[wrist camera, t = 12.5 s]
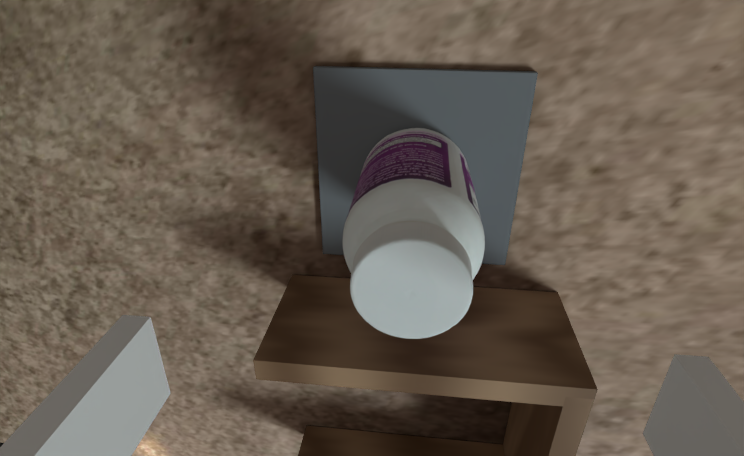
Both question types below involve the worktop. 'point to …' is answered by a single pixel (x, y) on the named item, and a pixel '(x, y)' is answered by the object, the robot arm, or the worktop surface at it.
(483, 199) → the mat
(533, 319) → the nook
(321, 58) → the worktop surface
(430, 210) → the pill bottle
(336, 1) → the worktop surface
